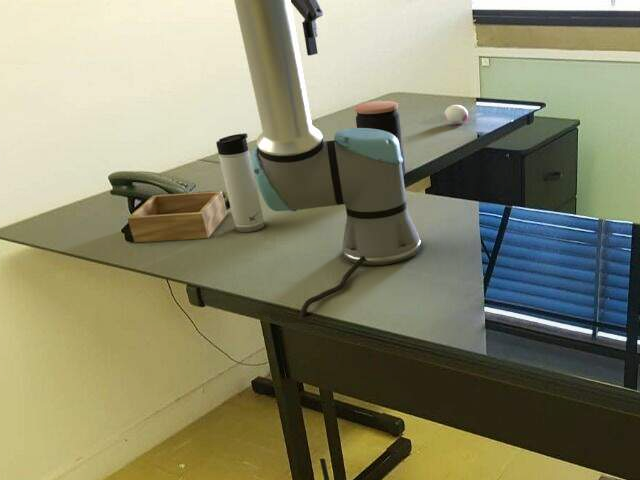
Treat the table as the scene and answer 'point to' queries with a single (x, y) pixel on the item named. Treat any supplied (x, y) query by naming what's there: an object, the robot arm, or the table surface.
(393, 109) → the coffee jar
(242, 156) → the travel mug
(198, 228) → the crate
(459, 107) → the stress ball
